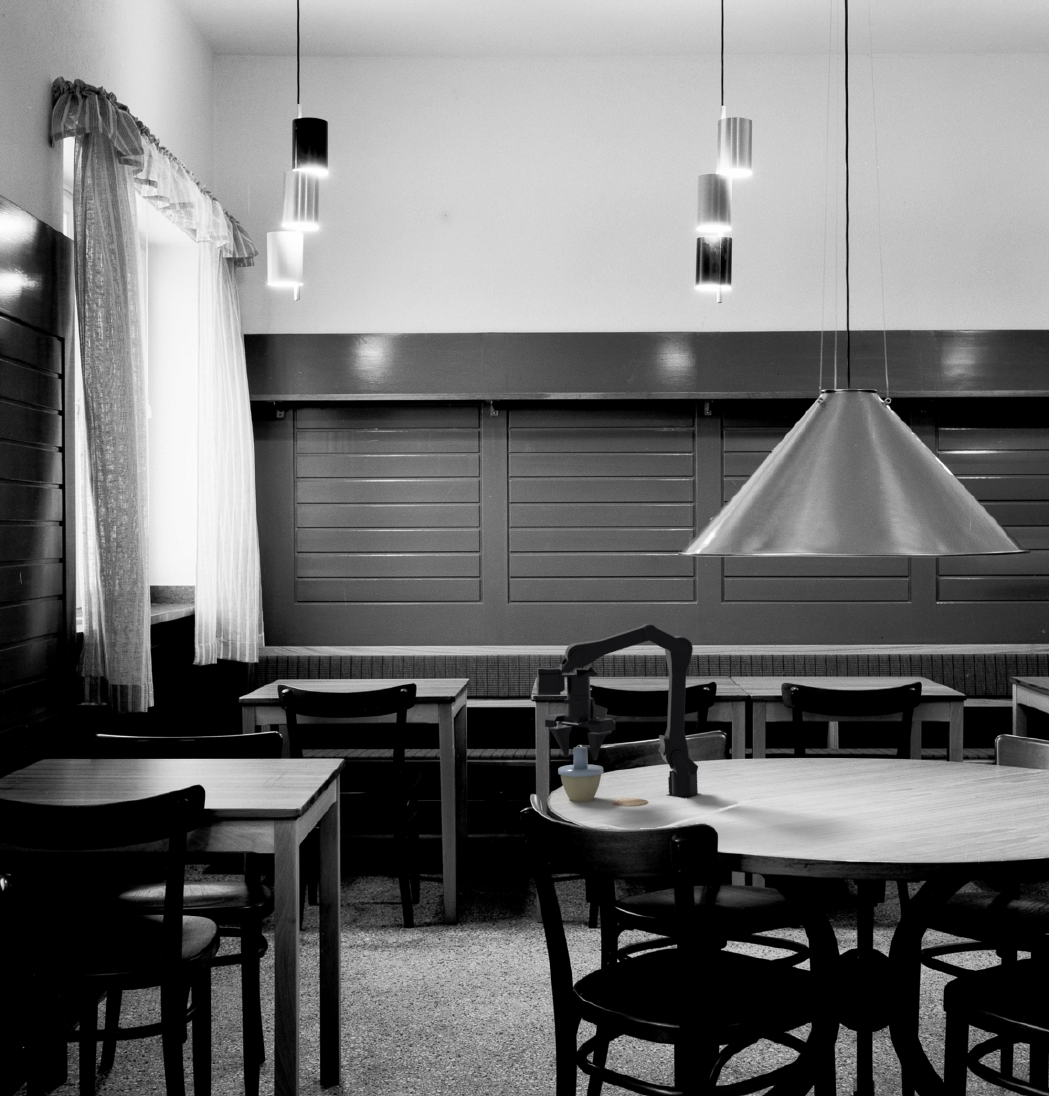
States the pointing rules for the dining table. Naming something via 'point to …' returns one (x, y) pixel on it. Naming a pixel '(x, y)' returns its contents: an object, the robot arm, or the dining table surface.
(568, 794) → the flower pot
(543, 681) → the robot arm
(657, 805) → the dining table surface
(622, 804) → the disc
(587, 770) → the lid
